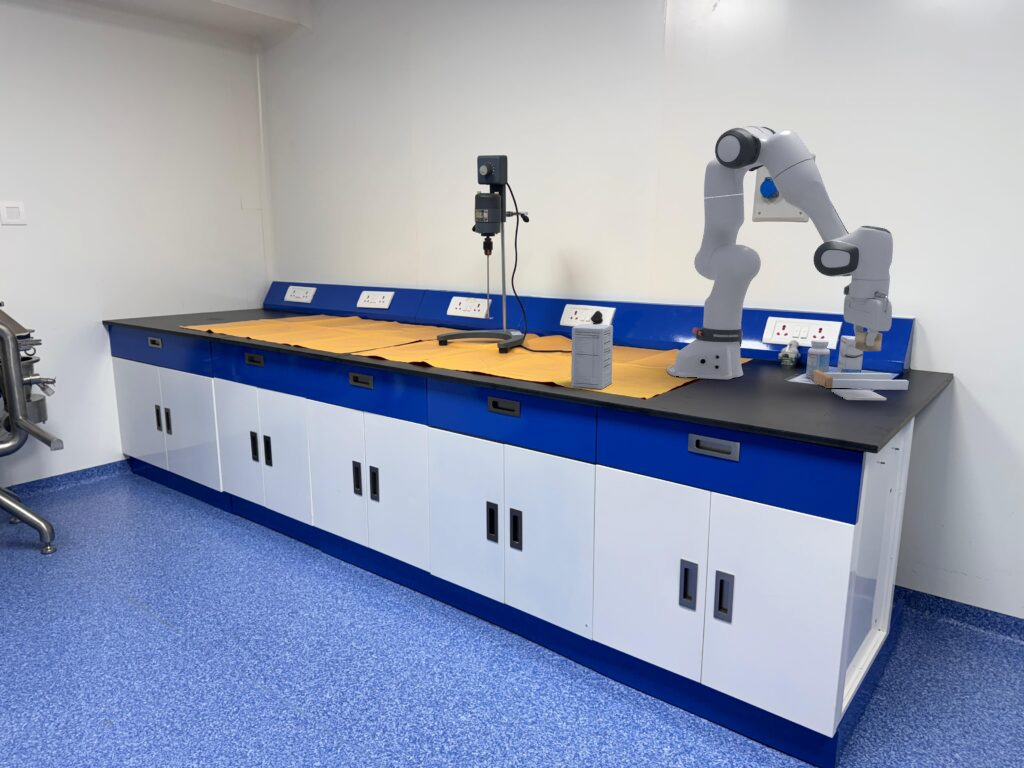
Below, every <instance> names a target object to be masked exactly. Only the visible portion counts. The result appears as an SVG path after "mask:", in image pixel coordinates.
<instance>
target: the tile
mask: <svg viewBox="0 0 1024 768" xmlns="http://www.w3.org/2000/svg"><path fill="white" fill-rule="evenodd" d="M831 392H832V393H833V392H834V394H835V395H837V396H839V397H841V398H842V397H843V399H844V400H846V401H887V397H885V396H883V395H880V394H878V393H877V392H874V391H872V389H831Z"/></svg>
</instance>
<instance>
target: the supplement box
mask: <svg viewBox="0 0 1024 768" xmlns="http://www.w3.org/2000/svg"><path fill="white" fill-rule="evenodd" d="M613 335H614V326H613V325H612V324H596V323H595V324H594V323H593V324H591V323H590V324H589V323H581V324H578V325H575V326H573V327H571V365H570V367H571V369H570V372H571V376H570V378H571V379H570V380H571V382H570V386H571V387H572V388H574V387H576V388H585V389H586V388H587V389H597V390H598V389H599V390H603V389H604V388H606V387H608V386H609V385H611V384H612V383H613V342H614V341H613V338H614V336H613Z"/></svg>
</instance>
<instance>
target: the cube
mask: <svg viewBox="0 0 1024 768" xmlns="http://www.w3.org/2000/svg"><path fill="white" fill-rule="evenodd" d="M867 335H868V332H867V331H864V330H863V331H857V335H856V345H855V348H856V349H858V350H861V351H863V352H881V351H882V343H883V342H882V341H883V333H881V332H878V334H877V336H876V338H875V341H874V345H873V346H867V345H865V338H867Z"/></svg>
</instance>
